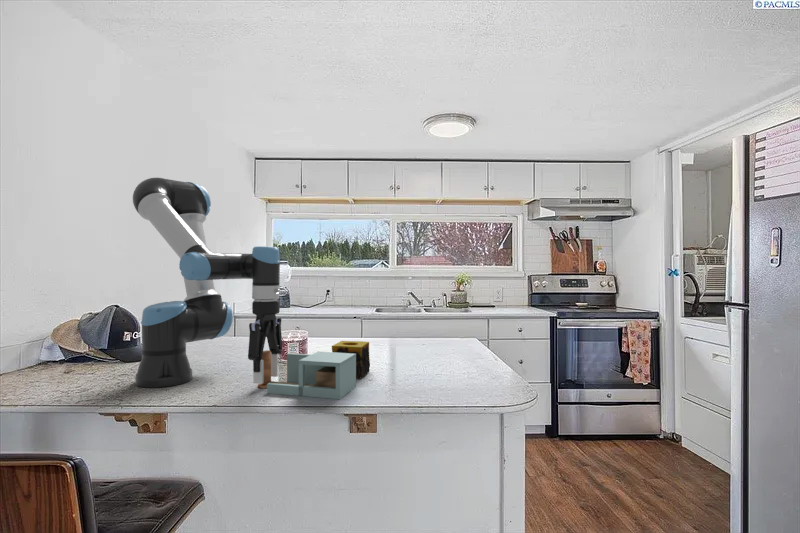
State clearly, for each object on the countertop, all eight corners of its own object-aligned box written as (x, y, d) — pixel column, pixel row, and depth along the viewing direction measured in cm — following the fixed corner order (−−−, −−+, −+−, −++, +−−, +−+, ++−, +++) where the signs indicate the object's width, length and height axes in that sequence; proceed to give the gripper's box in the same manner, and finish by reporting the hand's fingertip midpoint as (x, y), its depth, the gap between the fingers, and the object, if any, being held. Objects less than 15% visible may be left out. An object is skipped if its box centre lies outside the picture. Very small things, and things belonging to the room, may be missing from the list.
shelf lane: (267, 393, 123) (267, 358, 123) (288, 381, 135) (289, 349, 135) (339, 399, 117) (340, 363, 117) (355, 386, 130) (356, 353, 129)
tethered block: (253, 388, 127) (253, 353, 127) (264, 382, 133) (264, 349, 133) (336, 395, 121) (336, 358, 121) (344, 389, 127) (344, 353, 127)
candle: (361, 379, 137) (361, 347, 137) (330, 377, 139) (330, 345, 139) (370, 371, 147) (370, 341, 147) (341, 370, 149) (341, 340, 149)
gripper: (258, 303, 119) (258, 390, 119) (294, 297, 138) (294, 372, 138) (233, 302, 121) (233, 388, 121) (272, 297, 140) (272, 370, 140)
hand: (265, 379), depth 130 cm, fingers open, 7 cm apart
